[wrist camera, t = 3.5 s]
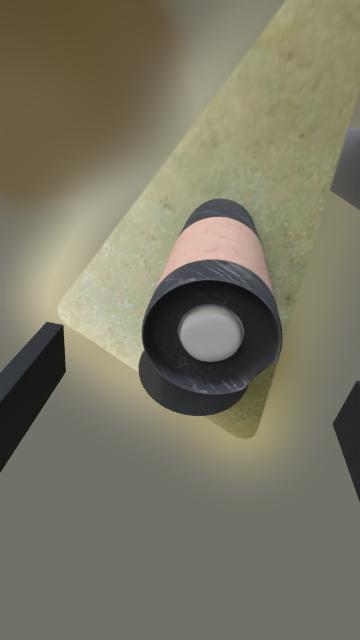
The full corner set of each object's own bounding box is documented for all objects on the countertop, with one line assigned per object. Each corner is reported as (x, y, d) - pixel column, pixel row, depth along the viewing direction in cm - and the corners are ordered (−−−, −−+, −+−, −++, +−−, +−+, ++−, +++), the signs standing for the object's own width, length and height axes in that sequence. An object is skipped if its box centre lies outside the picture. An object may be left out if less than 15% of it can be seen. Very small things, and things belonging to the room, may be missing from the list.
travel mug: (178, 199, 33) (125, 280, 16) (256, 191, 32) (288, 269, 15) (187, 270, 37) (151, 397, 20) (257, 266, 36) (283, 397, 19)
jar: (244, 281, 37) (248, 327, 29) (246, 359, 42) (250, 416, 34) (150, 287, 39) (128, 331, 30) (163, 361, 44) (148, 415, 36)
